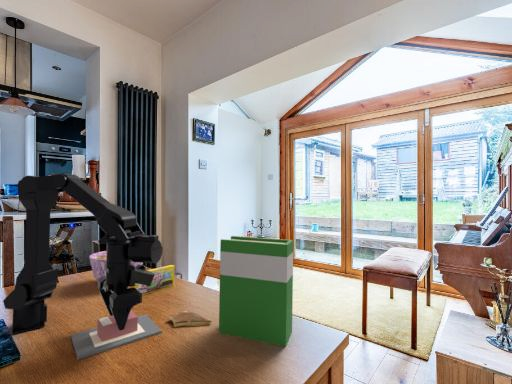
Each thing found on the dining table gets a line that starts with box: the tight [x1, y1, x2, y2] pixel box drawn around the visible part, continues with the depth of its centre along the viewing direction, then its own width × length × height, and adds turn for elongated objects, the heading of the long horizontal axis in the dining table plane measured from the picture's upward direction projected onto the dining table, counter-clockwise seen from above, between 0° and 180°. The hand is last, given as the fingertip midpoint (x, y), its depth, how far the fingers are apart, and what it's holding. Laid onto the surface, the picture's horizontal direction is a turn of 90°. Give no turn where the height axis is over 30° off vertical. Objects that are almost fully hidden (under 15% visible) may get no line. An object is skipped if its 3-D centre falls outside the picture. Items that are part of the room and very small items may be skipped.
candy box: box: [131, 264, 176, 296], centre depth 97 cm, size 16×2×8 cm, turn 143°
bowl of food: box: [88, 250, 144, 282], centre depth 106 cm, size 20×20×12 cm
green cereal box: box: [218, 235, 294, 348], centre depth 69 cm, size 18×7×24 cm, turn 71°
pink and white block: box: [96, 310, 138, 342], centre depth 66 cm, size 5×8×4 cm, turn 133°
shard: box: [168, 310, 212, 328], centre depth 73 cm, size 11×8×2 cm
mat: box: [70, 314, 162, 361], centre depth 66 cm, size 18×12×1 cm, turn 131°
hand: (117, 323), depth 66 cm, fingers open, 8 cm apart
